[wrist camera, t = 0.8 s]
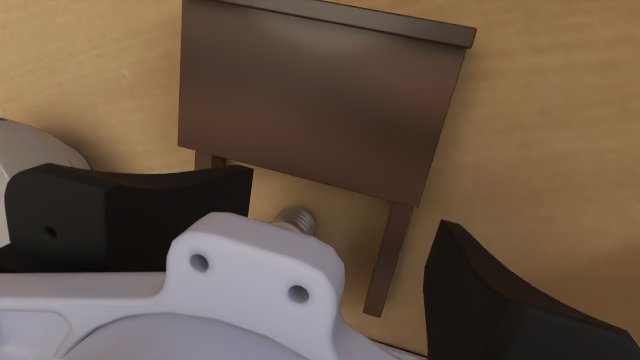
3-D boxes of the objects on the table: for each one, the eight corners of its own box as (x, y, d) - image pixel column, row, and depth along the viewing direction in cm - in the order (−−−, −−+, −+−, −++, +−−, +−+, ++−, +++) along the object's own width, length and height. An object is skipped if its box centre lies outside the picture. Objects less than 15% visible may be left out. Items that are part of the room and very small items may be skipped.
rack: (382, 299, 27) (375, 359, 22) (203, 246, 29) (159, 288, 24) (462, 32, 20) (477, 28, 15) (221, -12, 22) (164, -28, 17)
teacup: (-23, 97, 29) (-169, 115, 22) (112, 93, 26) (-4, 113, 19) (35, 265, 34) (-68, 325, 27) (154, 278, 31) (74, 350, 24)
